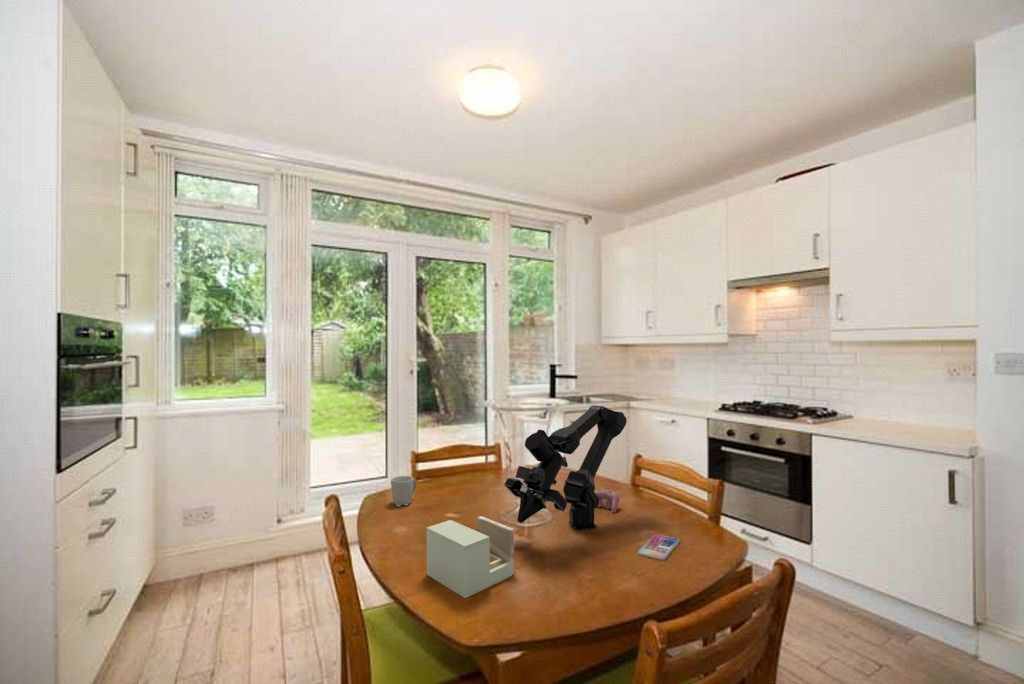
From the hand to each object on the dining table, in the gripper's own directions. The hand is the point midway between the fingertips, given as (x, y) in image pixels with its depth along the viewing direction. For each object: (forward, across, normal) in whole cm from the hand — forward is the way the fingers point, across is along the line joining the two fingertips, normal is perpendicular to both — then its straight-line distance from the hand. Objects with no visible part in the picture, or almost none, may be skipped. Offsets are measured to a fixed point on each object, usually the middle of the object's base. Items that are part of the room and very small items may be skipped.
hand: (519, 522), depth 120 cm
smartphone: (-14, +24, +26) cm, 38 cm away
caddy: (+17, 0, -6) cm, 18 cm away
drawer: (+16, 0, -5) cm, 17 cm away
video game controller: (-24, -4, +36) cm, 44 cm away
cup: (+6, -56, +6) cm, 57 cm away
